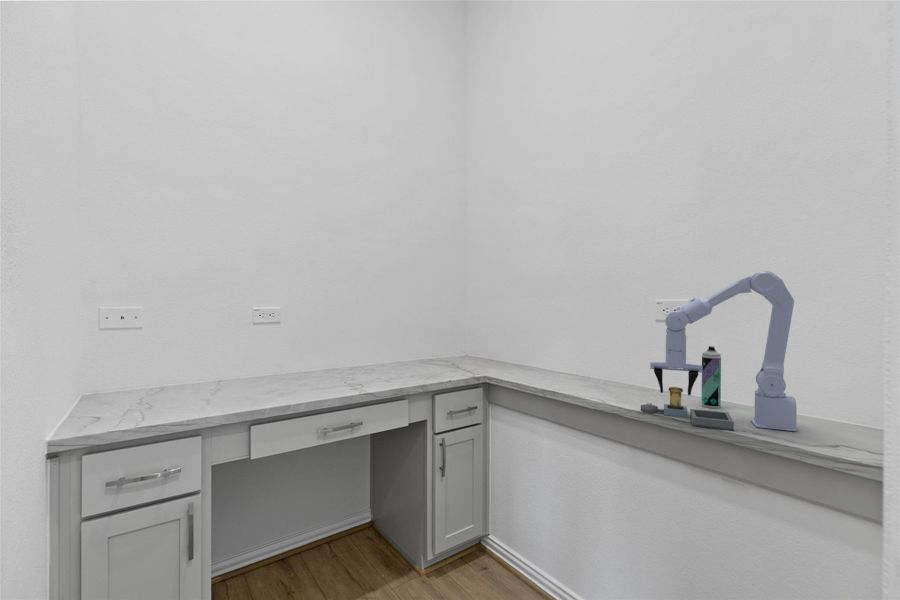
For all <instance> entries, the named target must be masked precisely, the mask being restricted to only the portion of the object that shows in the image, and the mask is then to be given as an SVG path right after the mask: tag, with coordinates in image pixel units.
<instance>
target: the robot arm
mask: <svg viewBox="0 0 900 600" xmlns="http://www.w3.org/2000/svg"><path fill="white" fill-rule="evenodd" d="M752 291H753V292H754V293H757V294H759V295H761V296H762V297H764V299H766V300H767V301H768V303H770V304H771V305H772V306H771V314H770V320H769V325H768V330H767V331H768V332H767V337H766V343H765V350H764V355H763V360H762V363H761V368H760V370H759V371H758V372H757V374H756V376H755V382H756V384H757V386H758V388H757V389H756V390H755V391H754V418H753V417H751V418H750V421H751V422H752V424H753V425H754V426H755V428H761V429H769V430H770V429H771V430H772V429H773V430H778V431H779V430H780V431H789V432H797V431H798V430H797V401H796V399H795V397H794V396H789V395H787V394H786V392H785V391H786V387H787V384H786V381H785V379H784V374H785V368H784V367H785V364H784V363H785V358H786V352H787V348H788V347H787V346H788V341H789V335H790V328H791V322H792V317H793V310H794V305H795V301H794V300H795V299H794V298H793V296H792V294H791V292H790V291H789V289H788V288H787V287H786V285H785V283H784V280H783V279H782V278H780V276H778V275H777V274H775V273H774V272H772V271H769V270H762V271H761V270H760V271H759V272H758V271H757V272H756V273H754V274H752V275H749V276H747V277H744V278H741V279H738V280H736V281H735V282H733V283H731V284H729V285H727V286H726V287H724V288H722V289H721V290H719V291H717V292H716V293H714V294H712V295H710V296H709V297H707V298H704V297H700V296H699V297H697V298H696V297H693V298H691V299H690V302H688V303H686V304H685V305H683V306H682V307H680V306H678V307H677V308H676V311H671V312H670V313H669V314H667V316H666V317H665V320H664V321H665V325H666V335H665V362H660V361H658V362H655V361H654V362H653V361H650V363H649V369H650V370H653V372H654V374H655V377H656V379H657V382H658V385H659V390H660V393H661V394H663V393H664V386H663V385H664V384H663V373H664V371H663V370H667V371H679V372H680V371H681V372H688V377H687V379H688V384H687V385H688V386H687V396H691V395H692V390H693V387H694V384H695V382H696V381H697V378H699V377H698V376H699V373H701V374H702V364H691V363H687V335H686V327H687V325H688V324H694V323H695V322H698V321H700V320H701V319H703V318H705V317H707V316H709V315H711V314H712V311H713V308H714V307H716V306H717V305H720V304H721V303H723V302H725V301H727V300H729V299H731V298H734V297H735V296H738V295H740V294H749V293H753V292H752Z"/></svg>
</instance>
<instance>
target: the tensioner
mask: <svg viewBox="0 0 900 600" xmlns="http://www.w3.org/2000/svg"><path fill="white" fill-rule="evenodd" d="M640 411H641V412H642V413H647V414H658V413H659V414H663V415H664V416H667V415H670V416H669V417H676V416H678V418H686V417H687V418H688V417H689V416H688V413H689V412H688V411H689V410H688V407H687V405H681V410H679V409H670V403H663V409H662V408H659V407H658V406H657V405H655V404H653V403H652V402H646V404H645V403H644V404H641V405H640Z"/></svg>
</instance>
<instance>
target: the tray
mask: <svg viewBox="0 0 900 600" xmlns="http://www.w3.org/2000/svg"><path fill="white" fill-rule="evenodd" d="M689 411H690V412H689V413H690V415H689V417H690V422H691V426H692V427H697V428H698V427H699V428H704V429H705V428H706V429H715V430H723V431H734V427H735V426H734V425H735V424H734V420H733V418H732V416H731V414H730V413H729V412H727V411H715V410H708V409H707V410H706V409H705V410H704V409H696V408H690V410H689Z"/></svg>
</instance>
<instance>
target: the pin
mask: <svg viewBox="0 0 900 600" xmlns="http://www.w3.org/2000/svg"><path fill="white" fill-rule="evenodd" d="M667 389H668V390H667V391H669V404H670V409H679V410H681V406H682V393H683V391H684V390H683V388H682V387H677V386H669V387H668V388H667Z"/></svg>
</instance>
